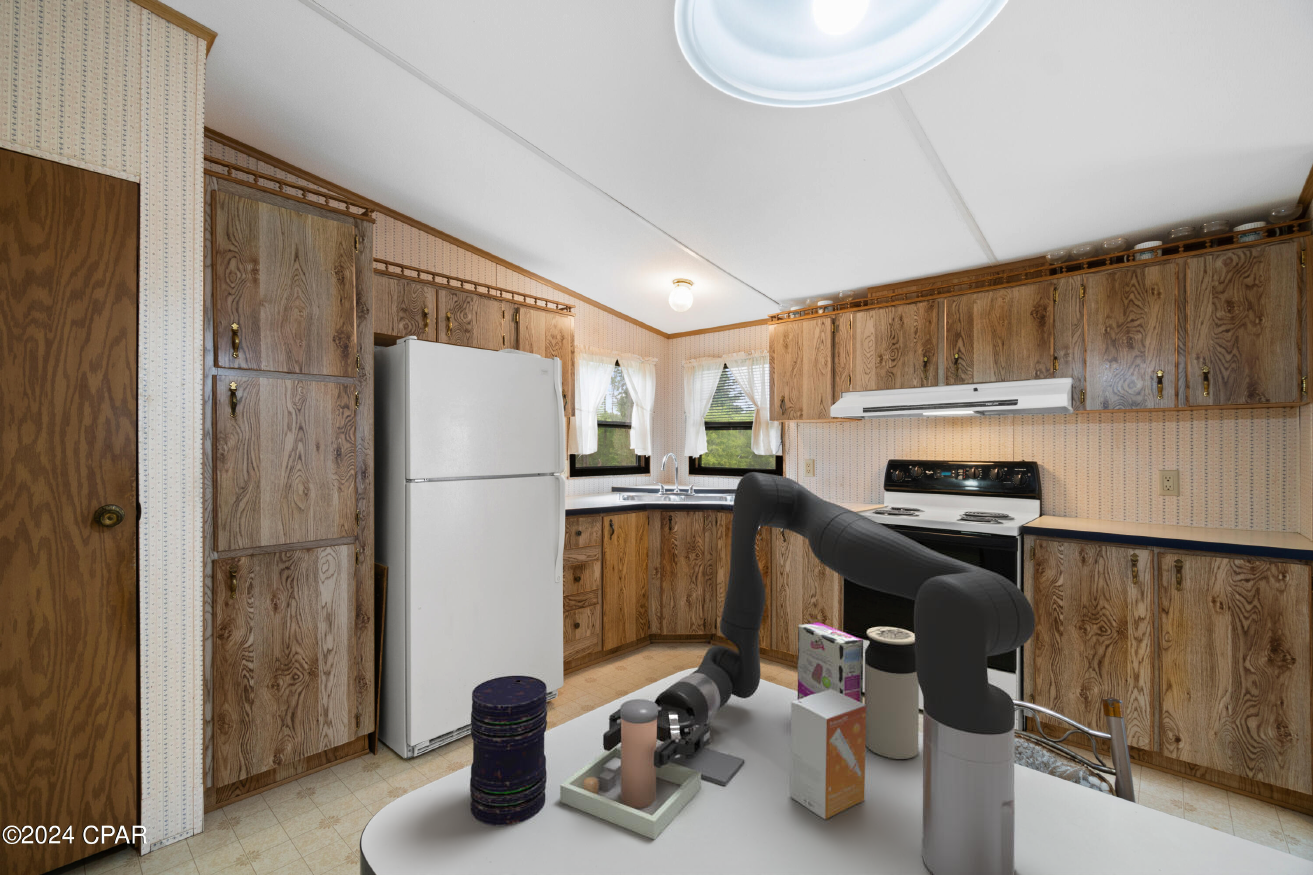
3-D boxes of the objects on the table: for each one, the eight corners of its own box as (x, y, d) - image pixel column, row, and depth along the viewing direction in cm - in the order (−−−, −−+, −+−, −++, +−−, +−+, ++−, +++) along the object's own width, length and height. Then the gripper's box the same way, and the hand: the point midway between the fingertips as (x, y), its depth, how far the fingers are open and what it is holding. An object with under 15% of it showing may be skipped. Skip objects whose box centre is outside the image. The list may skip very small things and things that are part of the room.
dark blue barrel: (530, 830, 74) (531, 708, 74) (455, 821, 75) (457, 702, 75) (556, 785, 84) (557, 677, 84) (489, 778, 85) (491, 672, 85)
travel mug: (929, 752, 94) (929, 636, 94) (896, 766, 89) (897, 645, 89) (885, 730, 100) (886, 623, 100) (853, 743, 96) (854, 630, 96)
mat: (744, 763, 90) (744, 759, 90) (725, 785, 84) (725, 781, 84) (685, 745, 95) (685, 741, 95) (663, 765, 89) (663, 761, 89)
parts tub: (700, 787, 83) (701, 772, 83) (654, 839, 72) (654, 821, 72) (614, 758, 91) (614, 744, 91) (560, 801, 80) (560, 784, 80)
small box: (825, 821, 76) (826, 718, 76) (788, 796, 81) (789, 700, 81) (866, 801, 81) (867, 703, 81) (829, 778, 86) (829, 687, 86)
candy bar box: (864, 741, 97) (865, 639, 97) (840, 747, 95) (841, 643, 95) (818, 712, 107) (819, 620, 107) (795, 717, 105) (796, 623, 105)
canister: (664, 793, 82) (664, 704, 82) (644, 813, 77) (645, 719, 78) (632, 782, 84) (633, 696, 84) (611, 800, 80) (612, 709, 80)
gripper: (648, 671, 97) (587, 710, 83) (730, 691, 90) (678, 737, 76) (648, 718, 97) (586, 764, 83) (730, 741, 90) (677, 796, 76)
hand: (630, 751), depth 79 cm, fingers open, 7 cm apart
